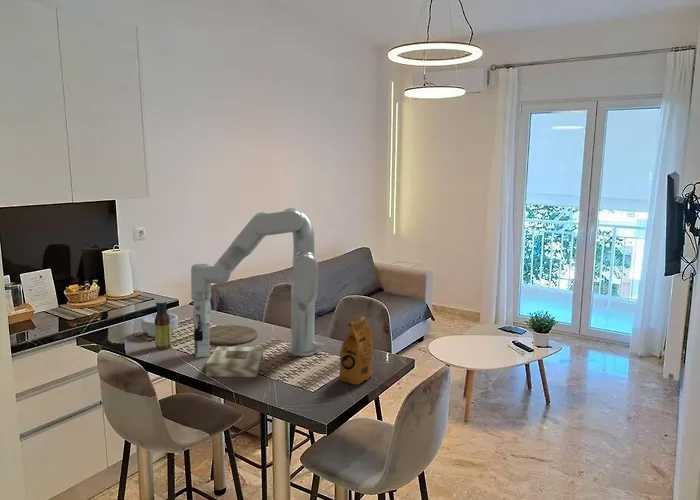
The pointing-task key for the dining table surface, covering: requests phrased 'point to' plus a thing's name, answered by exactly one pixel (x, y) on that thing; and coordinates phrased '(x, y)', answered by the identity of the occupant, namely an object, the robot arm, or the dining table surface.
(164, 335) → the sauce bottle
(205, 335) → the syrup box
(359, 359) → the coffee package
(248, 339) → the trivet
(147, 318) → the paper bowls
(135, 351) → the dining table surface
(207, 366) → the socket block
